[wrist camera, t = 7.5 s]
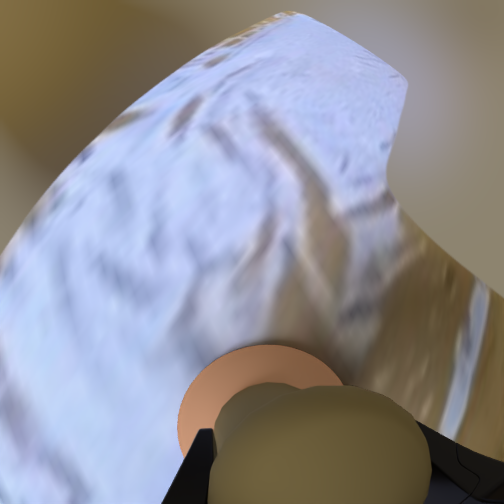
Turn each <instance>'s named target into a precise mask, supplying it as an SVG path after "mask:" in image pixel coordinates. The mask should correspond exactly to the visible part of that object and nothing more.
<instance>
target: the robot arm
mask: <svg viewBox="0 0 504 504" xmlns="http://www.w3.org/2000/svg"><path fill="white" fill-rule="evenodd" d="M415 421H416V420H415ZM416 423H417V424H418V426H419V428H420V429H421V431H422V433H423V434H424V436H425V438H426V441H427V444H428V448H429V454H430V460H431V467H432V473H431V479H430V484H429V490H428V495H427V497H426V499H425V501H424V503H423V504H504V462H501V461H498V460H495V459H493V458H490V457H487V456H484V455H482V454H479V453H477V452H474V451H472V450H470V449H468V448H466V447H464V446H462V445H460V444H458V443H455V442H454V441H452V440H451V439H449V438H447V437H445V436H443V435H441V434H440V433H438V432H436V431H434V430H432V429H431V428H429V427H427V426H425V425H423V424H422V423H420V422H418V421H416ZM217 454H218V452H217V444H216V440H215V435H214V431H213V429H212V428H201V429H199V430H198V432H197V434H196V436H195V438H194V440H193V442H192V444H191V446H190V448H189V450H188V452H187V454H186V456H185V458H184V460H183V462H182V464H181V466H180V468H179V470H178V472H177V474H176V476H175V478H174V480H173V482H172V484H171V486H170V488H169V490H168V492H167V494H166V495H165V497H164V499H163V501H162V503H161V504H208V489H209V478H210V470H211V467H212V464H213V462H214V460H215V458H216V456H217Z"/></svg>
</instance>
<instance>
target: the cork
mask: <svg viewBox="0 0 504 504" xmlns="http://www.w3.org/2000/svg"><path fill="white" fill-rule="evenodd" d="M214 435H215V440H216V444H217V452H218V454H217V456H216V458H215V460H214V462H213V464H212V467H211V470H210V478H209V489H208V504H423V503H424V501H425V499H426V497H427V495H428V490H429V484H430V479H431V473H432V467H431V460H430V454H429V448H428V444H427V441H426V438H425V436H424V434H423V433H422V431H421V429H420V428H419V426H418V424H417V423H416V421H415V419H414V418H413V416H412V415H411V414H410V413H409V412H407V411H406V410H405V409H403V408H402V407H401V406H399V405H398V404H397V403H395V402H394V401H393V400H391V399H390V398H388V397H386V396H384V395H382V394H379V393H376V392H372V391H369V390H366V389H362V388H359V387H356V386H353V385H344V386H313V387H309V388H305V389H302V390H301V389H299V388H296V387H294V386H291V385H288V384H286V383H274V382H265V383H261V384H256V385H252V386H249V387H247V388H245V389H243V390H241V391H240V392H238V393H236V394H234V395H233V396H232V397H231V398H230V399H229V400H228V401H227V402H226V404H225V405H224V406H223V407H222V408H221V410H220V412H219V415H218V417H217V419H216V421H215V425H214Z"/></svg>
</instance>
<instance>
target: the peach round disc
mask: <svg viewBox="0 0 504 504" xmlns="http://www.w3.org/2000/svg"><path fill="white" fill-rule="evenodd" d="M265 382H274V383H286V384H288V385H291V386H294V387H296V388H299V389H301V390H302V389H305V388H309V387H313V386H344V385H343V384H342V382H341V381H340V379H339V378H338V377H337V375H336V374H335V373H334V372H333V371H332V370H331V369H330V368H329V367H328V366H327V365H325V364H324V363H323V362H322V361H320V360H319V359H317V358H316V357H314V356H312V355H310V354H308V353H306V352H304V351H301V350H298V349H295V348H292V347H287V346H281V345H256V346H250V347H245V348H242V349H238V350H235V351H233V352H230V353H228V354H226V355H224V356H222V357H220V358H219V359H217V360H215V361H214V362H212V363H211V364H210V365H208V366H207V367H206V368H205V369H204V370H203V371H202V372H201V373H200V374H199V375H198V376H197V377H196V378H195V380H194V381H193V382H192V383H191V385H190V386H189V388H188V390H187V392H186V393H185V395H184V398H183V400H182V403H181V406H180V410H179V414H178V424H177V430H178V440H179V444H180V448H181V451H182V454H183V456H184V458H185V456H186V454H187V452H188V450H189V448H190V446H191V444H192V442H193V440H194V438H195V436H196V434H197V432H198V430H199V429H201V428H212V429H213V431H214V425H215V421H216V419H217V417H218V415H219V412H220V410H221V408H222V407H223V406H224V405H225V404H226V402H227V401H228V400H229V399H230V398H231V397H232V396H233V395H234V394H236V393H238V392H240V391H241V390H243V389H245V388H247V387H249V386H252V385H256V384H261V383H265Z"/></svg>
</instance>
